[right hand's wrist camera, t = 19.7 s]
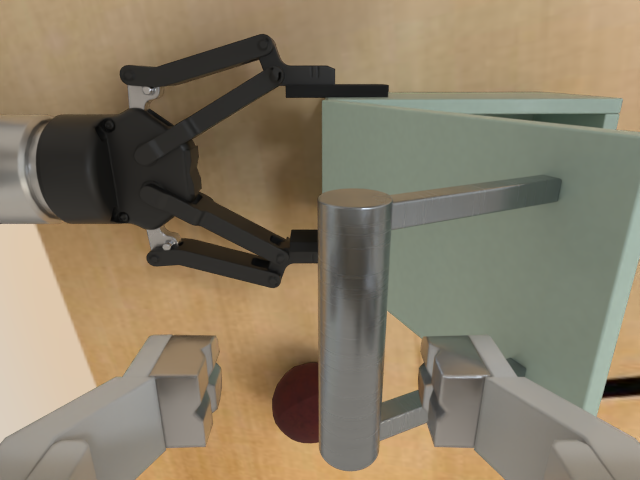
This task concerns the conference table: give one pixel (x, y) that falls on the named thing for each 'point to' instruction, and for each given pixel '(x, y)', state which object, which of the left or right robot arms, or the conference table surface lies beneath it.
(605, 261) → the lid
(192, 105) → the conference table surface
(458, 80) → the conference table surface
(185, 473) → the conference table surface
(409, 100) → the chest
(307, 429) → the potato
